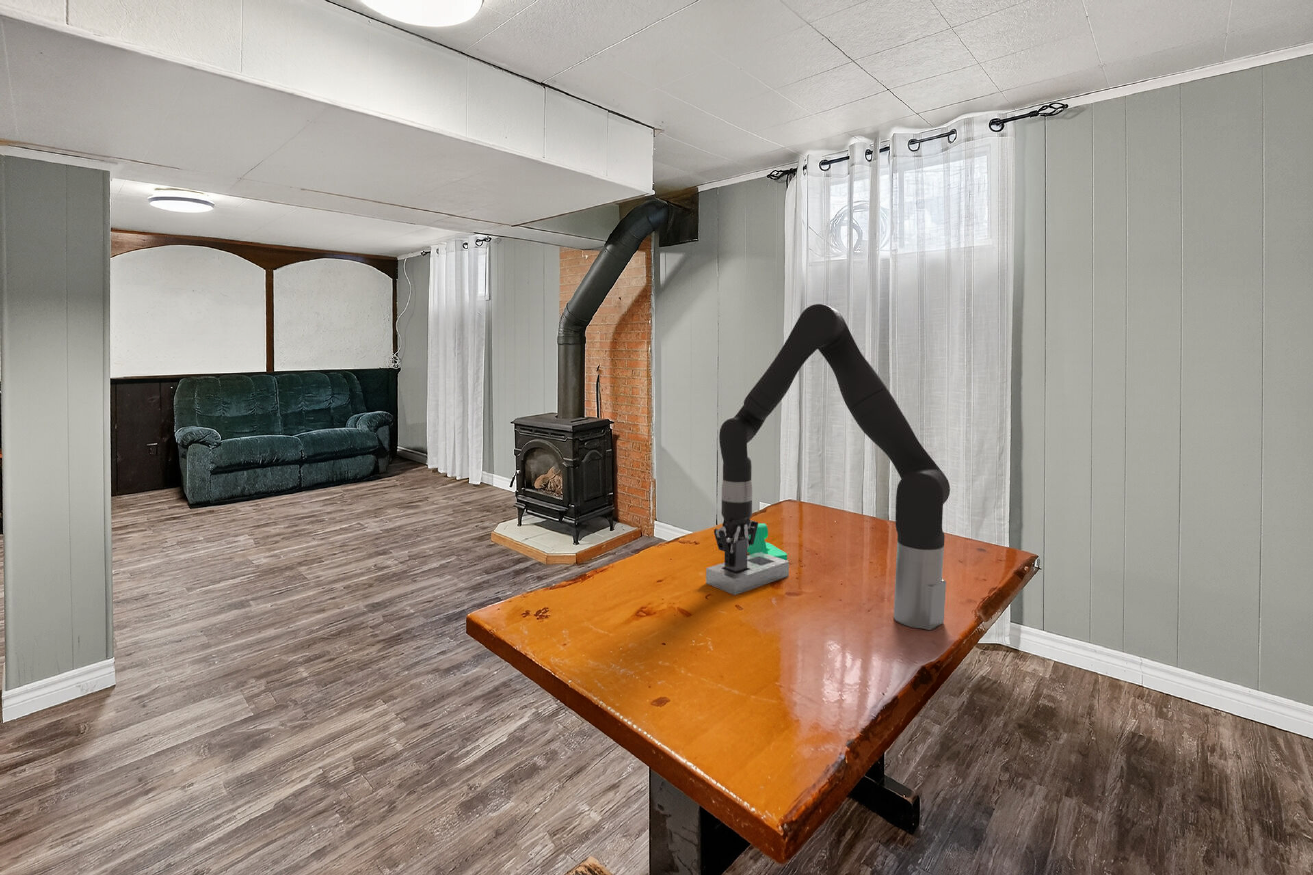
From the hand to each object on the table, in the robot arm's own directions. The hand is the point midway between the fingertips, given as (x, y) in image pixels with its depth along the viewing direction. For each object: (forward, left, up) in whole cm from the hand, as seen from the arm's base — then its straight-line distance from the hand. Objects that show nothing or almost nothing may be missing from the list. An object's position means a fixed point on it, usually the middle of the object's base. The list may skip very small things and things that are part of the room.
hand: (736, 564), depth 157 cm
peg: (0, 0, -3) cm, 3 cm away
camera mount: (+9, -21, -6) cm, 23 cm away
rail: (0, -4, -5) cm, 7 cm away
